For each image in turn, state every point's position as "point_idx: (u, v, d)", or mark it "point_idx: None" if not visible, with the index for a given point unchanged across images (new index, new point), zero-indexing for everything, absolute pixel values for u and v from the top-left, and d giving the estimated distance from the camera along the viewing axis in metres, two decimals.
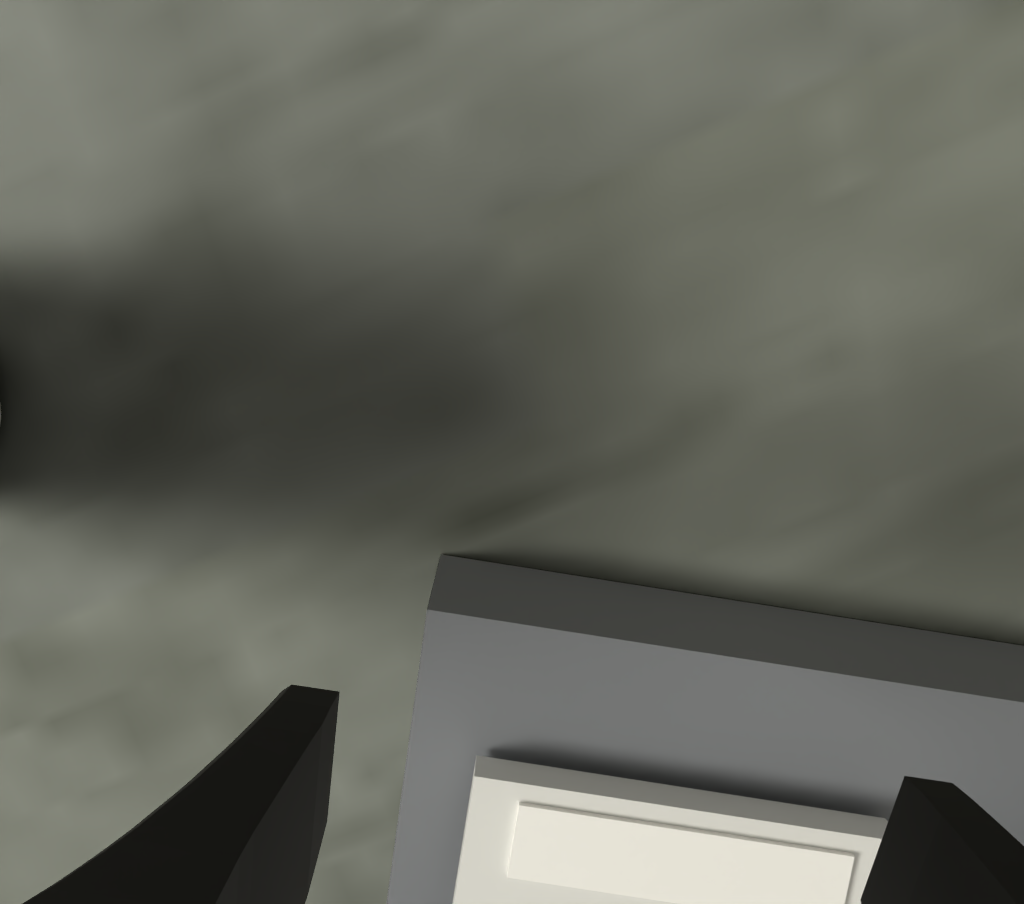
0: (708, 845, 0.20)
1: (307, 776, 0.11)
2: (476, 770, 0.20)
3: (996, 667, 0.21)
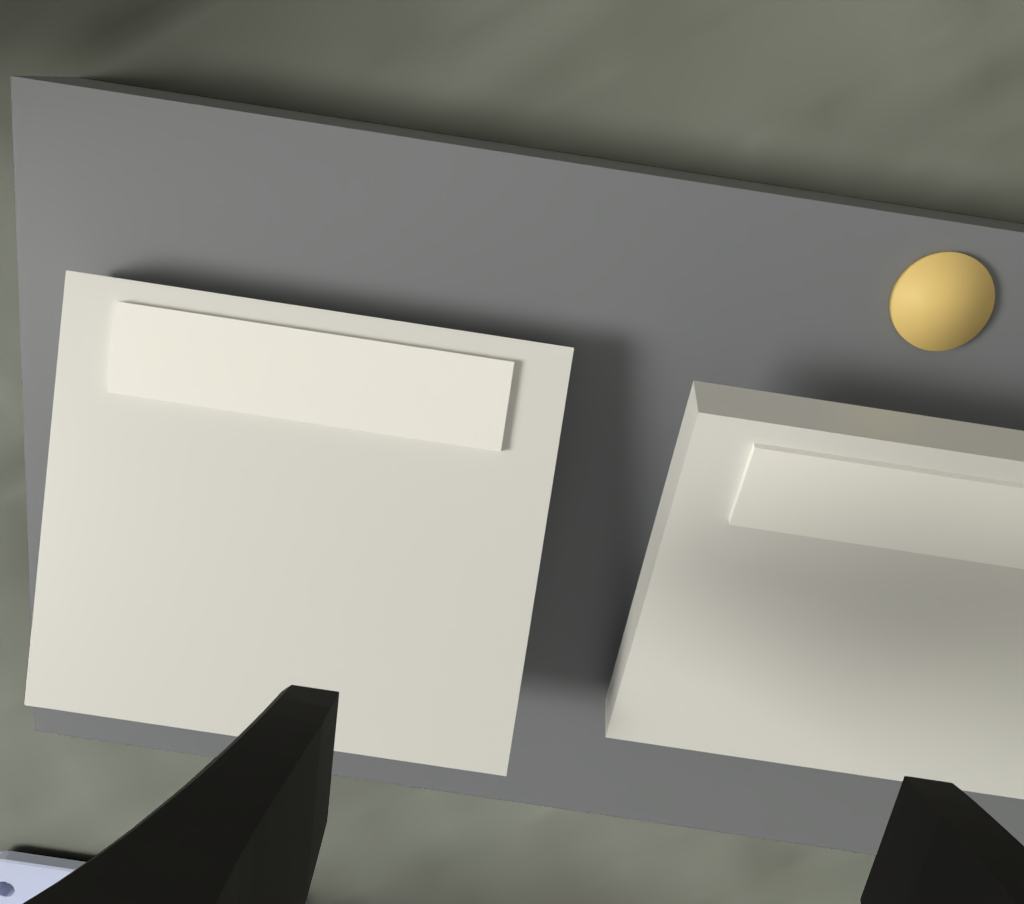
0: (342, 350, 0.17)
1: (306, 776, 0.11)
2: None
3: (704, 178, 0.18)
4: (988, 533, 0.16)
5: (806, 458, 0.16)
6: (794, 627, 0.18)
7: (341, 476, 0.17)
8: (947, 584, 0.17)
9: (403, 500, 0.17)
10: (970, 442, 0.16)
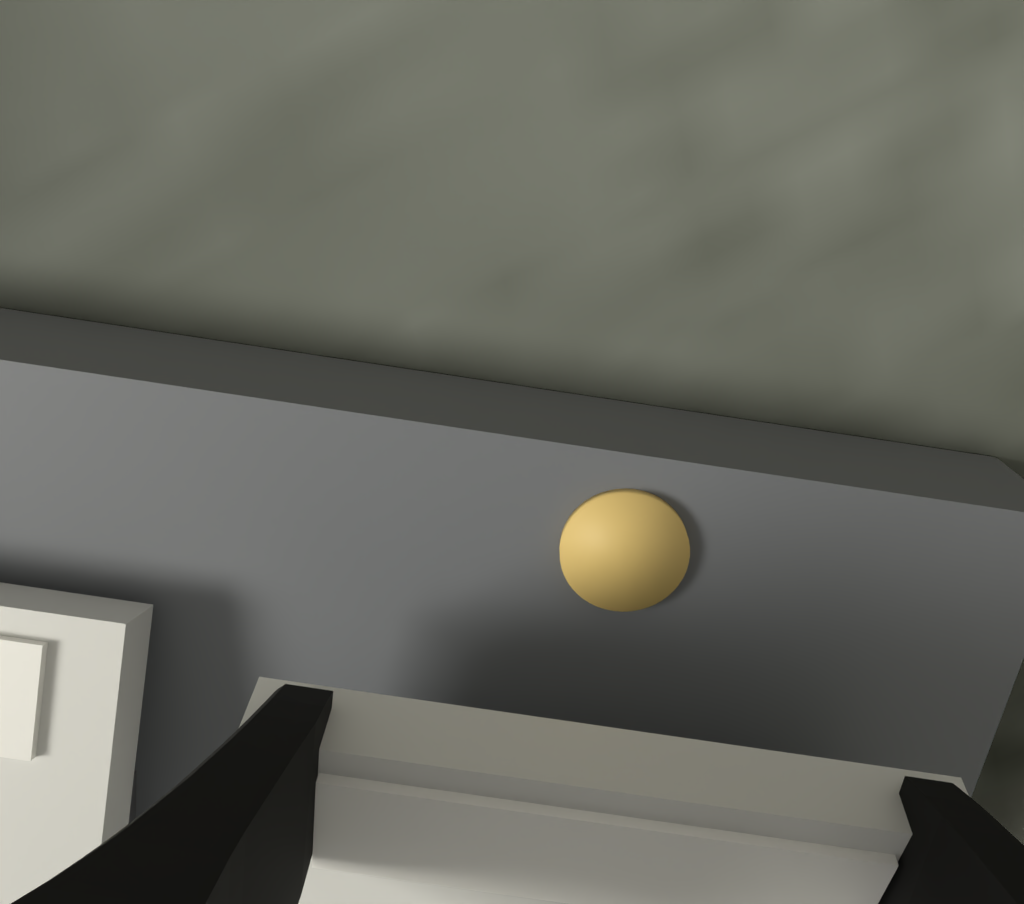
0: None
1: (300, 775, 0.11)
2: None
3: (335, 381, 0.14)
4: (649, 883, 0.12)
5: (389, 794, 0.12)
6: None
7: None
8: None
9: None
10: (614, 765, 0.12)
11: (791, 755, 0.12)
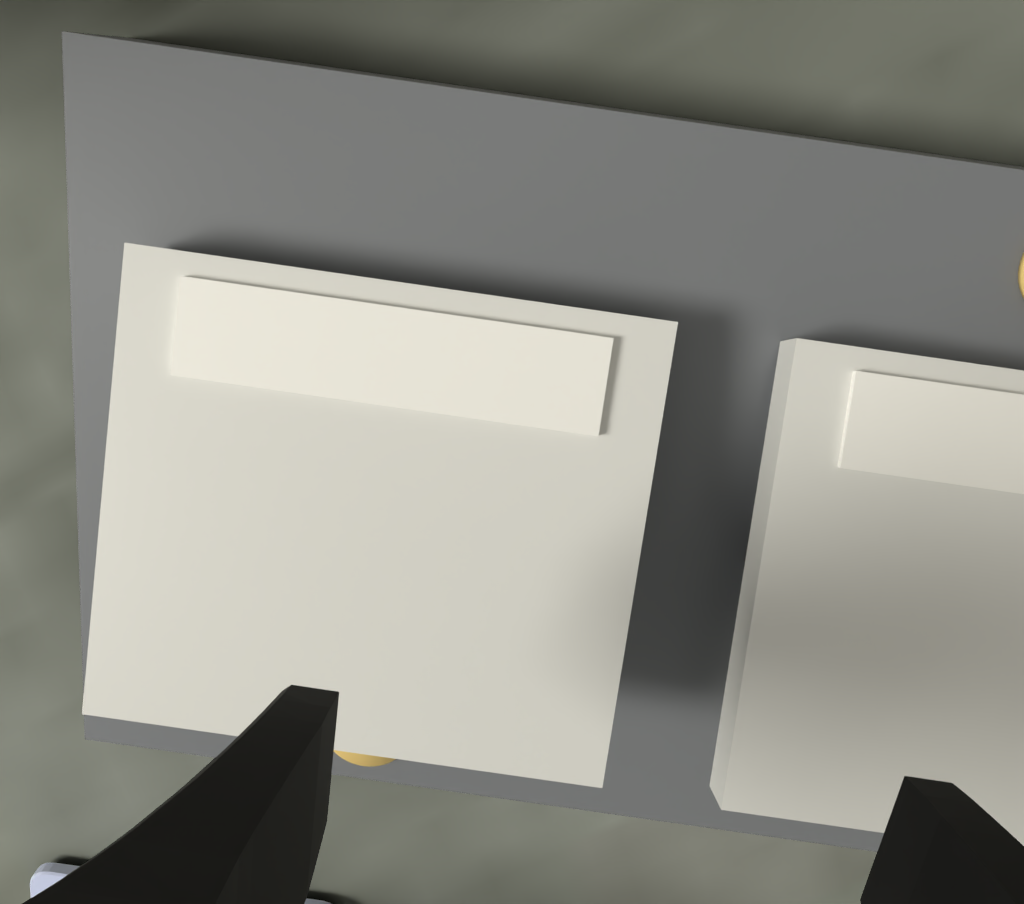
0: (425, 327, 0.16)
1: (306, 776, 0.11)
2: None
3: (811, 138, 0.17)
4: None
5: (907, 384, 0.16)
6: (922, 614, 0.16)
7: (423, 464, 0.16)
8: None
9: (491, 490, 0.16)
10: None
11: None
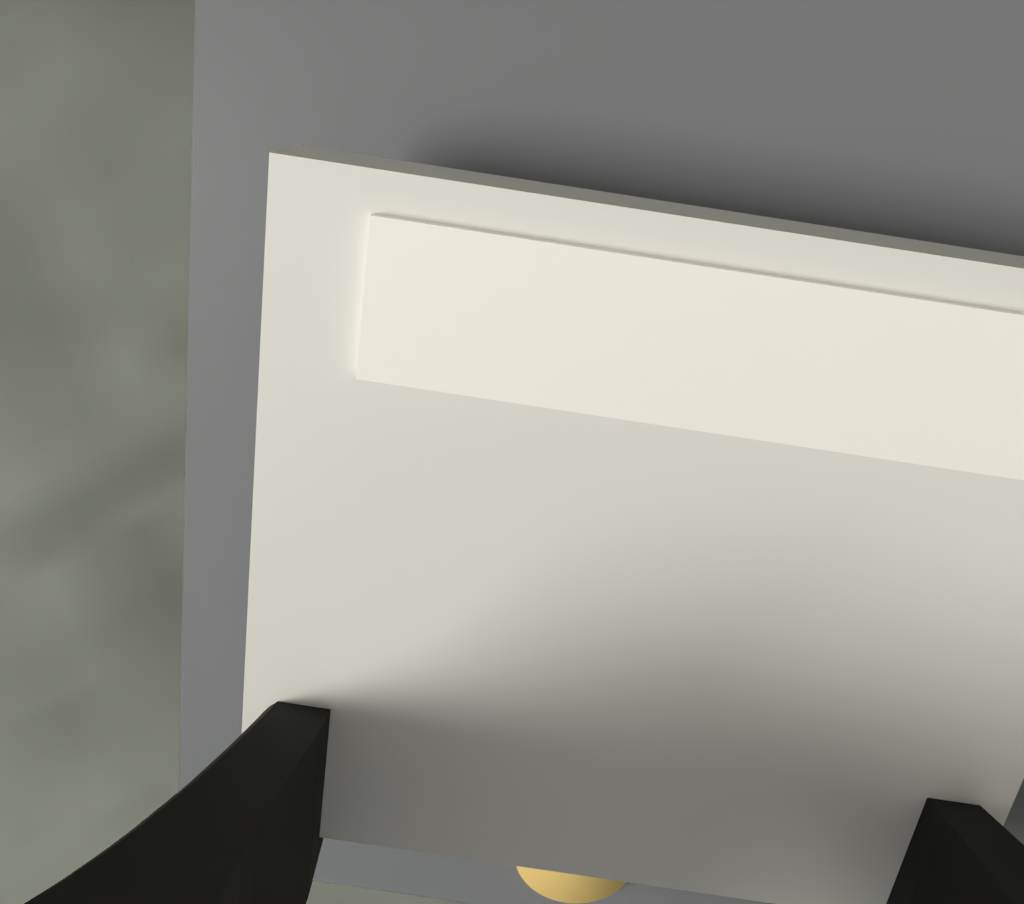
0: (789, 306, 0.09)
1: (308, 776, 0.11)
2: (280, 150, 0.09)
3: None
4: None
5: None
6: None
7: (756, 516, 0.10)
8: None
9: (860, 555, 0.10)
10: None
11: None
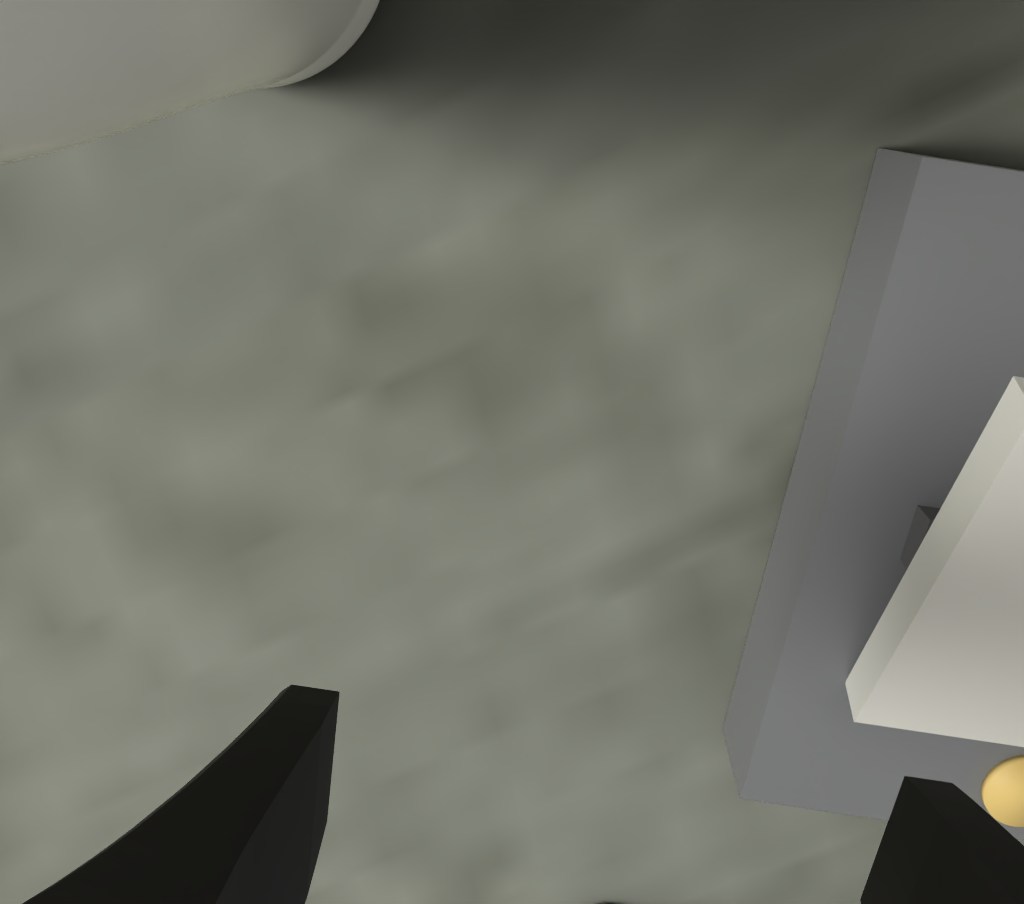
0: None
1: (307, 776, 0.11)
2: None
3: None
4: None
5: None
6: None
7: None
8: None
9: None
10: None
11: None
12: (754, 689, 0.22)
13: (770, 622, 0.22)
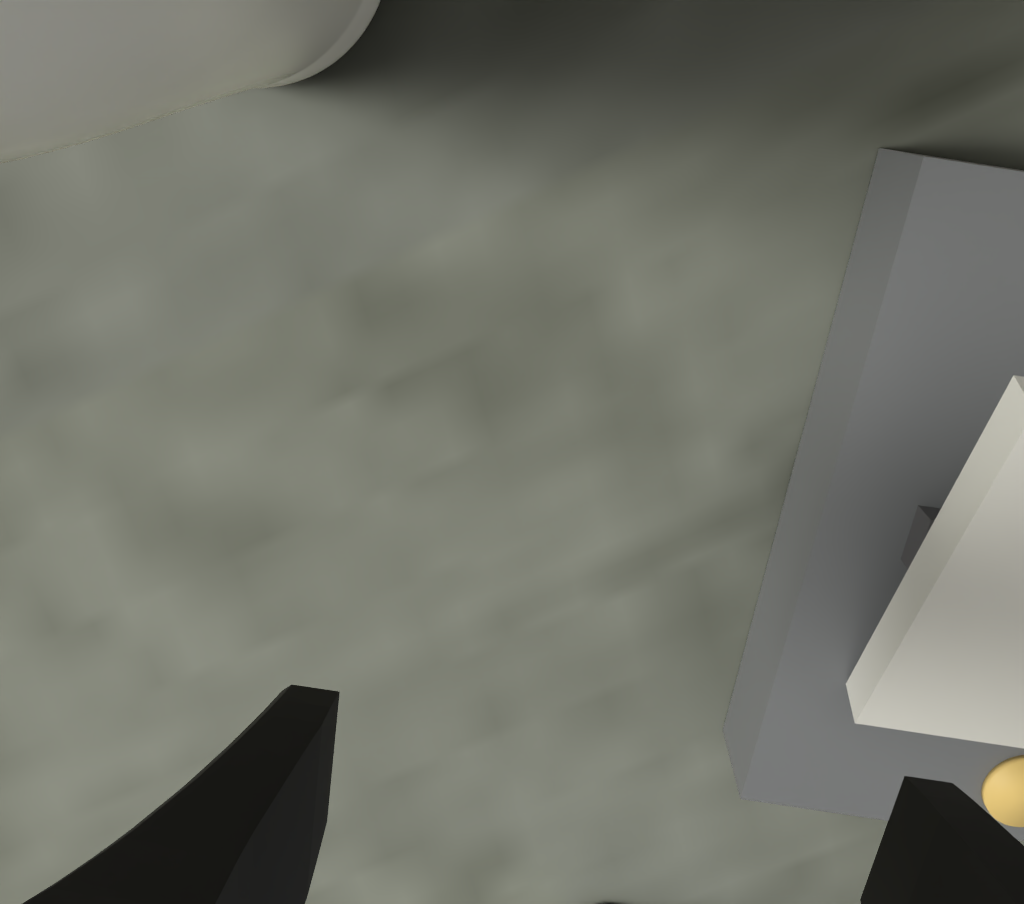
0: None
1: (307, 776, 0.11)
2: None
3: None
4: None
5: None
6: None
7: None
8: None
9: None
10: None
11: None
12: (754, 689, 0.22)
13: (770, 622, 0.22)
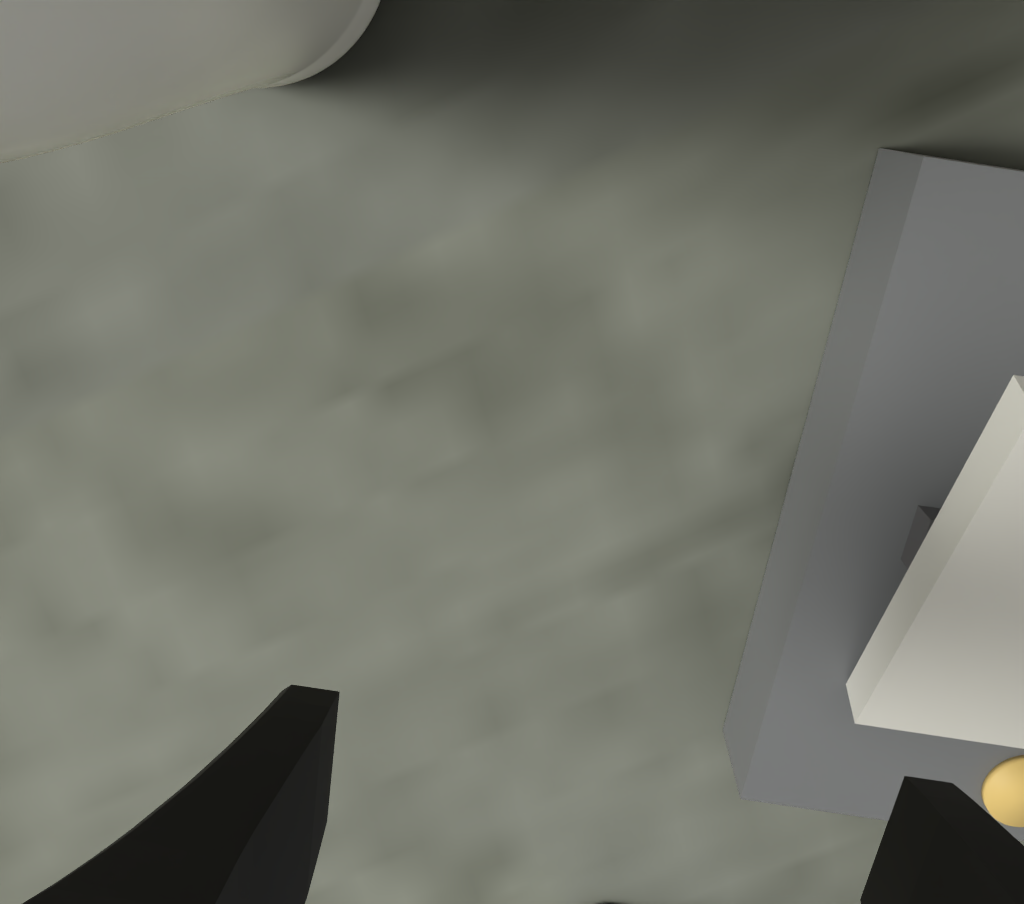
0: None
1: (307, 776, 0.11)
2: None
3: None
4: None
5: None
6: None
7: None
8: None
9: None
10: None
11: None
12: (754, 689, 0.22)
13: (770, 622, 0.22)
